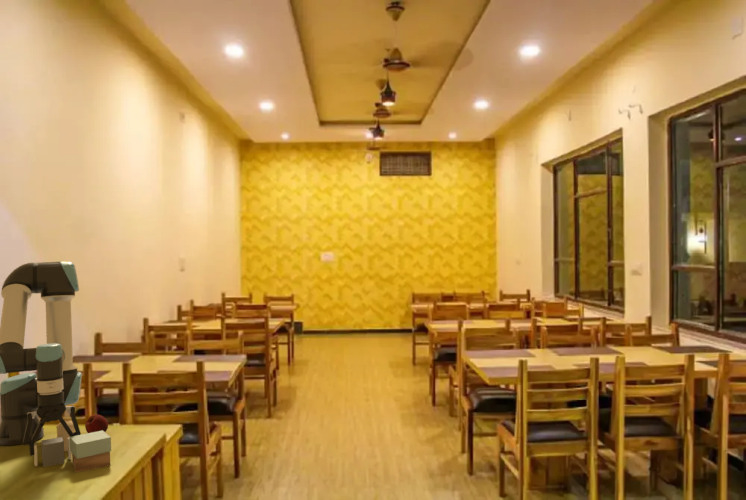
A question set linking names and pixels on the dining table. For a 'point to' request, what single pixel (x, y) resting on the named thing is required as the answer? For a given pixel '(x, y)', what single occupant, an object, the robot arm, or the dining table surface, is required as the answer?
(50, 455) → the block
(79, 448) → the tower top
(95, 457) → the tower base
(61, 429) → the beige bottle
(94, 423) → the apple
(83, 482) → the dining table surface
